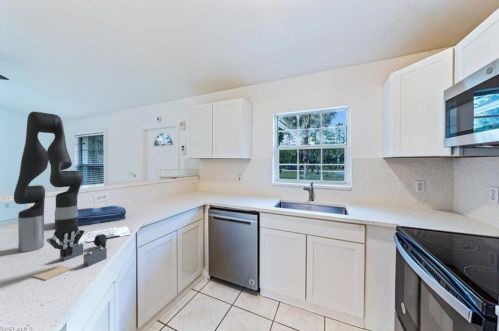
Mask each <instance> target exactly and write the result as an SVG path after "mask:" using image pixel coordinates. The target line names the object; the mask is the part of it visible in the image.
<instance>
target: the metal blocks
mask: <svg viewBox="0 0 499 331" xmlns="http://www.w3.org/2000/svg"><path fill="white" fill-rule="evenodd" d="M107 249H108V248H106V247H105V248H103V247H102V246H100V247H98V249H95V250H92V251H88V252H86V253H84V243H81V242H80V243H77V244H75V245H73V253H72V254H71V255H70V256H67V257H65V258H64V257H62V256H61V249H59V261H61V262H66V261H68V260H72V259H74V258H78V257H79V256H82V255H83V266H84V267H90V266H94V265H95V264H98V263H100V262H103V261H105V260H107V259H108V258H107V256H108V255H107V252H108V251H107Z"/></svg>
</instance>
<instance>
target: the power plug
mask: <svg viewBox="0 0 499 331" xmlns="http://www.w3.org/2000/svg"><path fill="white" fill-rule="evenodd" d="M107 241H108V238H107V237H106V235H104V234H100V235H97V236H96V237H95V239H94V241H93V245H94V246H96V247H103V248H106V247H107Z"/></svg>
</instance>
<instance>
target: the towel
mask: <svg viewBox="0 0 499 331" xmlns="http://www.w3.org/2000/svg"><path fill="white" fill-rule="evenodd" d="M126 214H127V210H126V208H124V206H123V207H122V206H119V205H117V206H116V205H110V206H109V205H108V206H102V207H88V208H78V225H77V227H82V226H89V225H93V224H100V223H101V224H102V223H110V221H111V222H116V220H117V221H121V220H120V219H123V220H125V219H126ZM54 229H55V226H54Z"/></svg>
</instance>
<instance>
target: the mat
mask: <svg viewBox="0 0 499 331" xmlns="http://www.w3.org/2000/svg"><path fill="white" fill-rule="evenodd" d="M72 270H74V268H73V267H70V266H67V265H62V264H57V265H55V266H51V267H49V268H47V269H44V270H41V271H39V272H36V273H34V274H32V275H31V277H32V278H36V279H39V280H43V281H48V280H51V279H53V278H55V277H58V276H61V275H62V274H64V273H65V274H66V273H67V272H70V271H72Z"/></svg>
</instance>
